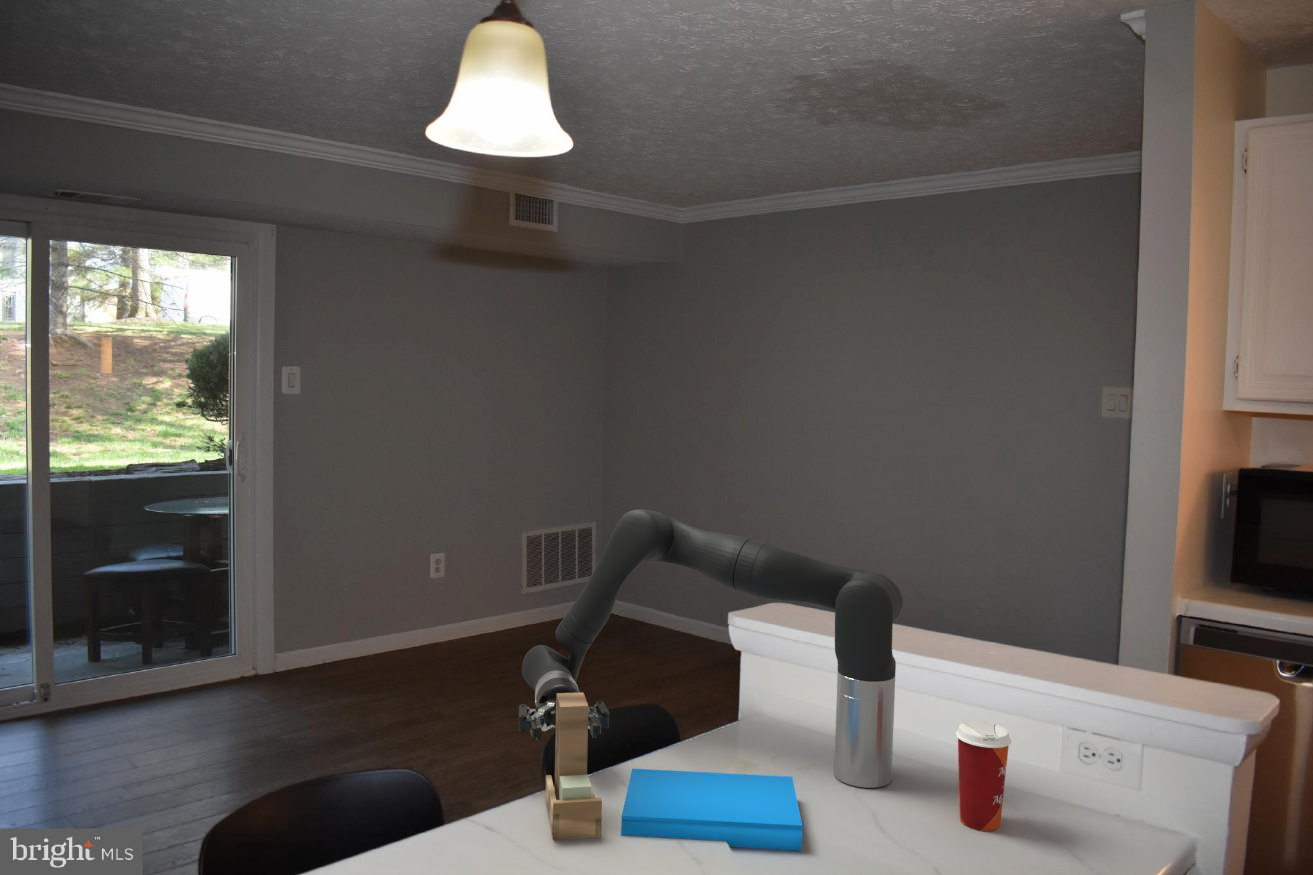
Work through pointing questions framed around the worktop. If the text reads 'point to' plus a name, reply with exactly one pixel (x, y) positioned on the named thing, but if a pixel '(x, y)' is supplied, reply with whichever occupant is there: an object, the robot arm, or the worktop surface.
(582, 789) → the offcut upper
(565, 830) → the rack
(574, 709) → the tall wooden block
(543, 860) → the worktop surface
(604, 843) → the worktop surface
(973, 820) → the paper cup
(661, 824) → the book
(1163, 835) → the worktop surface
